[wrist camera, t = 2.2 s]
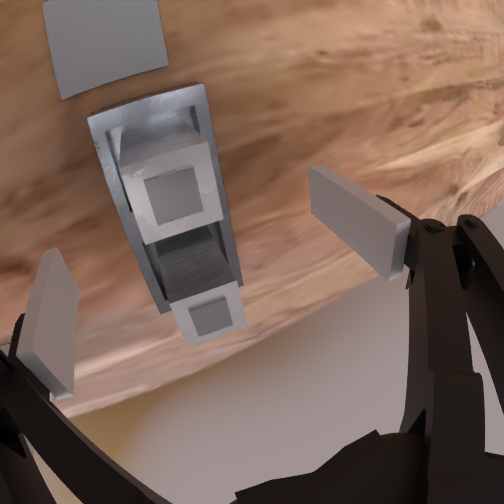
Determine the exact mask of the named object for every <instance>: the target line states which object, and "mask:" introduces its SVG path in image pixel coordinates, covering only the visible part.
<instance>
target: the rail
mask: <svg viewBox="0 0 504 504" xmlns="http://www.w3.org/2000/svg"><path fill="white" fill-rule="evenodd" d="M178 116H180V117H181V118H182V119H183V120H184V121H186V122H187V123H188V124H189V125H190V126H191V127H192V128H193V129H195V130H196V131H197V132H198V133H199V134H200V135H201V136H202V137H204V138H205V139H206V140H207V141H208V145H209V150H210V155H211V160H212V165H213V170H214V175H215V180H216V184H217V189H218V194H219V199H220V204H221V208H222V213H223V218H224V219H222V220H219V221H216V222H213V223H210V224H207V226H208V228H209V230H210V232H211V234H212V236H213V237H214V239H215V241H216V243H217V245H218V247H219V248H220V250H221V252H222V254H223V256H224V258H225V259H226V261H227V263H228V265H229V267H230V269H231V270H232V272H233V274H234V276H235V278H236V280H237V283H238V287H240V286H243V280H242V275H241V271H240V266H239V261H238V256H237V251H236V246H235V241H234V236H233V231H232V226H231V221H230V216H229V211H228V206H227V201H226V196H225V191H224V186H223V181H222V176H221V171H220V165H219V160H218V155H217V150H216V145H215V139H214V134H213V129H212V124H211V118H210V113H209V108H208V102H207V97H206V91H205V86H204V83H198V82H194V83H190V84H185V85H181V86H177V87H173V88H169V89H166V90H162V91H158V92H154V93H151V94H147V95H144V96H141V97H137V98H134V99H131V100H128V101H124V102H121V103H118V104H115V105H112V106H109V107H106V108H104V109H101V110H98V111H95V112H92V113H91V114H90V115H89V116H88V117H87V120H88V124H89V127H90V130H91V134H92V137H93V141H94V144H95V147H96V150H97V153H98V157H99V160H100V163H101V166H102V169H103V172H104V175H105V178H106V181H107V184H108V187H109V189H110V192H111V195H112V198H113V201H114V203H115V206H116V209H117V212H118V214H119V217H120V220H121V222H122V225H123V227H124V230H125V233H126V235H127V238H128V240H129V243H130V245H131V248H132V250H133V253H134V255H135V257H136V260H137V262H138V265H139V267H140V269H141V272H142V274H143V276H144V279H145V281H146V283H147V285H148V288H149V290H150V292H151V294H152V297H153V299H154V301H155V303H156V305H157V307H158V310H159V312H160V314H163V313H166V312H168V311H171V310H172V309H171V307H170V305H169V301H168V298H167V294H166V290H165V285H164V281H163V277H162V273H161V269H160V264H159V260H158V256H157V251H156V247H155V242H153V243H150V244H147V245H145V243H144V240H143V237H142V235H141V232H140V229H139V227H138V224H137V221H136V218H135V215H134V213H133V210H132V207H131V204H130V201H129V198H128V195H127V192H126V189H125V186H124V183H123V180H122V177H121V174H120V171H119V156H120V142H121V133H124V132H127V131H130V130H134V129H137V128H140V127H143V126H146V125H150V124H153V123H156V122H160V121H163V120H167V119H170V118H174V117H178Z"/></svg>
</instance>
